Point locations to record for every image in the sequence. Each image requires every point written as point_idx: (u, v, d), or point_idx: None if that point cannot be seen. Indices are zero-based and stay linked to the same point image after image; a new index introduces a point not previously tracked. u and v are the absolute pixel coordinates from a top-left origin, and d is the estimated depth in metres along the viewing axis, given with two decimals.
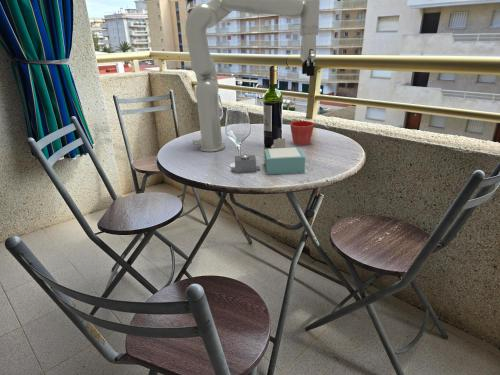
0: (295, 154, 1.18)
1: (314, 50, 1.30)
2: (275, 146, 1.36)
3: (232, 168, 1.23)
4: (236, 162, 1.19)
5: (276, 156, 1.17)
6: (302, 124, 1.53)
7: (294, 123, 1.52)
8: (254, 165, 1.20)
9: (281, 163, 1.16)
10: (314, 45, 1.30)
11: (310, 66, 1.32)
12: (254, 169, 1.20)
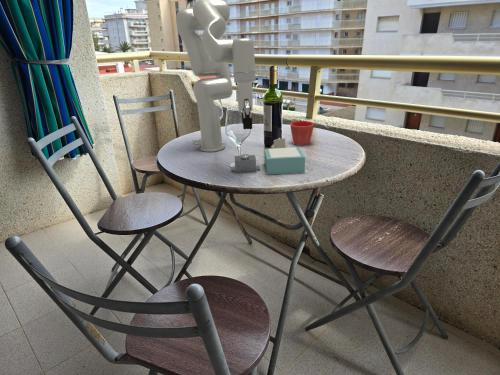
0: (295, 154, 1.18)
1: (250, 100, 1.09)
2: (275, 146, 1.36)
3: (232, 168, 1.23)
4: (236, 162, 1.19)
5: (276, 156, 1.17)
6: (302, 124, 1.53)
7: (294, 123, 1.52)
8: (254, 165, 1.20)
9: (281, 163, 1.16)
10: (250, 94, 1.08)
11: (246, 118, 1.10)
12: (254, 169, 1.20)
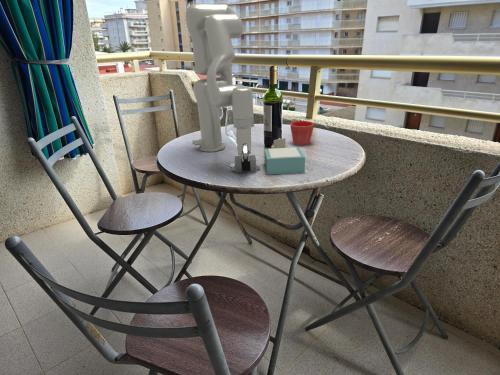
0: (295, 154, 1.18)
1: (248, 145, 1.14)
2: (275, 146, 1.36)
3: (232, 168, 1.23)
4: (236, 162, 1.19)
5: (276, 156, 1.17)
6: (302, 124, 1.53)
7: (294, 123, 1.52)
8: (254, 165, 1.20)
9: (281, 163, 1.16)
10: (248, 139, 1.13)
11: (245, 162, 1.16)
12: (254, 169, 1.20)
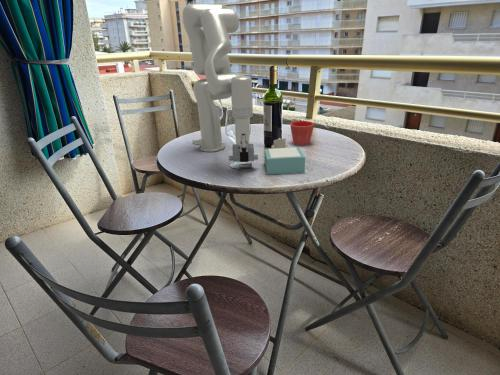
0: (295, 154, 1.18)
1: (247, 135, 1.13)
2: (275, 146, 1.36)
3: (230, 157, 1.22)
4: (234, 151, 1.18)
5: (276, 156, 1.17)
6: (302, 124, 1.53)
7: (294, 123, 1.52)
8: (252, 154, 1.19)
9: (281, 163, 1.16)
10: (247, 129, 1.12)
11: (243, 153, 1.17)
12: (252, 158, 1.19)
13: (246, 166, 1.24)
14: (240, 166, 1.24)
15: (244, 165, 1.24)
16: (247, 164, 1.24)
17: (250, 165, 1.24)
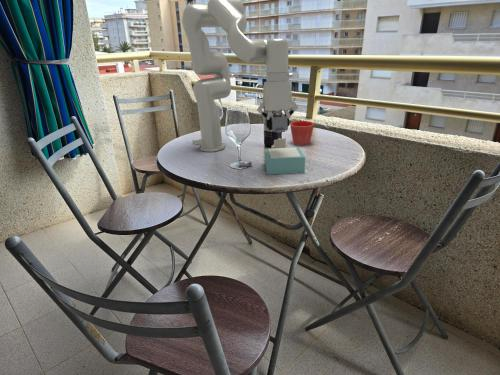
0: (295, 154, 1.18)
1: (264, 100, 1.11)
2: (275, 146, 1.36)
3: None
4: None
5: (276, 156, 1.17)
6: (302, 124, 1.53)
7: (294, 123, 1.52)
8: (272, 124, 1.13)
9: (281, 163, 1.16)
10: (265, 94, 1.10)
11: (267, 119, 1.15)
12: (272, 128, 1.13)
13: (246, 162, 1.26)
14: (240, 162, 1.26)
15: None
16: None
17: None
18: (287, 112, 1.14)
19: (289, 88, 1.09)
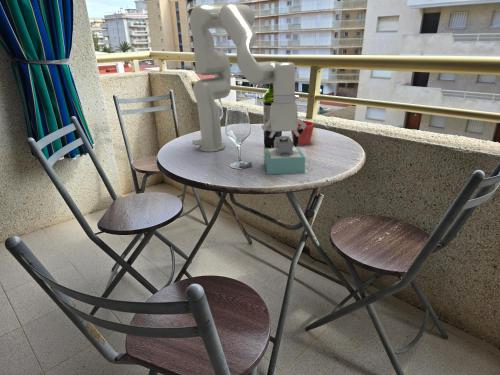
0: (295, 154, 1.18)
1: (271, 120, 1.14)
2: None
3: None
4: (275, 139, 1.22)
5: (276, 156, 1.17)
6: None
7: None
8: (277, 148, 1.17)
9: (281, 163, 1.16)
10: (271, 115, 1.13)
11: None
12: (277, 152, 1.18)
13: (246, 163, 1.25)
14: (240, 163, 1.25)
15: (244, 162, 1.26)
16: (247, 162, 1.26)
17: (250, 162, 1.25)
18: (295, 131, 1.16)
19: (295, 110, 1.12)
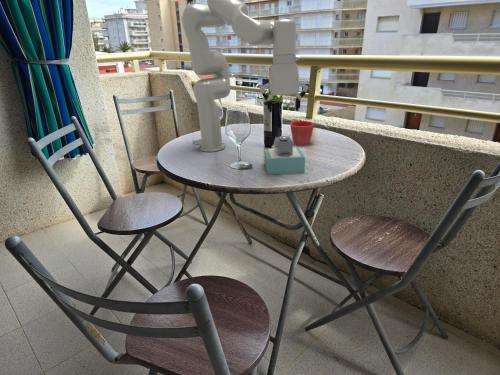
0: (295, 154, 1.18)
1: (270, 83, 1.09)
2: None
3: None
4: (275, 139, 1.22)
5: (276, 156, 1.17)
6: (302, 124, 1.53)
7: (294, 123, 1.52)
8: (277, 148, 1.17)
9: (281, 163, 1.16)
10: (271, 77, 1.08)
11: (267, 100, 1.13)
12: (277, 152, 1.18)
13: (246, 168, 1.24)
14: (240, 168, 1.24)
15: (244, 167, 1.24)
16: (247, 166, 1.24)
17: (250, 167, 1.24)
18: (297, 94, 1.11)
19: (296, 71, 1.07)
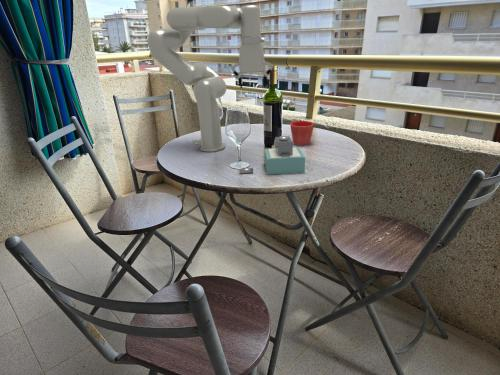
0: (295, 154, 1.18)
1: (239, 62, 1.25)
2: None
3: None
4: (275, 139, 1.22)
5: (276, 156, 1.17)
6: (302, 124, 1.53)
7: (294, 123, 1.52)
8: (277, 148, 1.17)
9: (281, 163, 1.16)
10: (240, 57, 1.24)
11: (238, 78, 1.29)
12: (277, 152, 1.18)
13: (247, 172, 1.19)
14: (241, 172, 1.19)
15: (245, 171, 1.19)
16: (248, 170, 1.19)
17: (251, 171, 1.19)
18: (263, 72, 1.27)
19: (261, 51, 1.23)
